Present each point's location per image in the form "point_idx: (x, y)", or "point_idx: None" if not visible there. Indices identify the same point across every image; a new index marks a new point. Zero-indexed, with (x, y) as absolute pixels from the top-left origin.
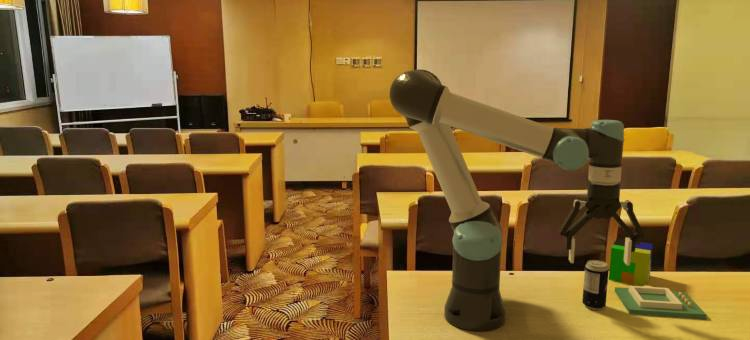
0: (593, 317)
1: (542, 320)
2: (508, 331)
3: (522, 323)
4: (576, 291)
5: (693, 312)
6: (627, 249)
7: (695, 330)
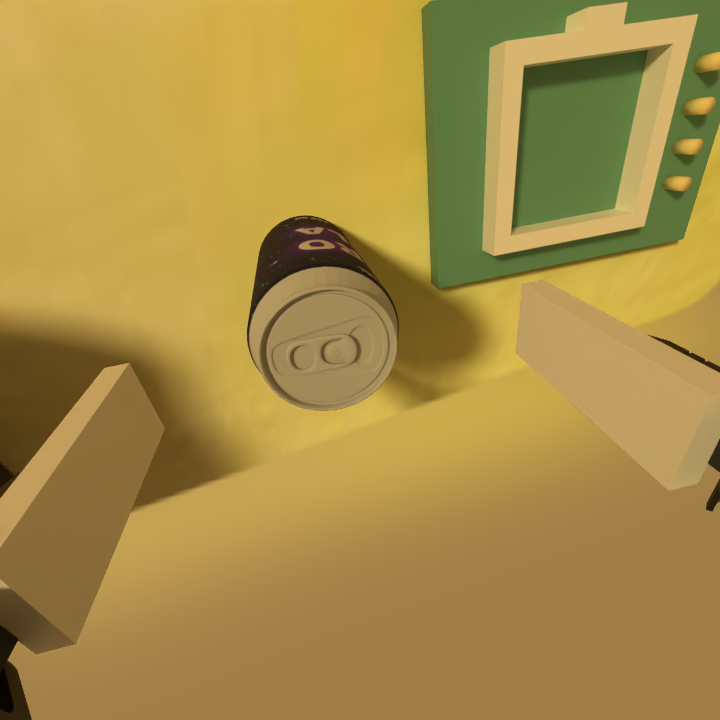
0: None
1: None
2: None
3: None
4: (215, 84)
5: (650, 235)
6: (595, 412)
7: None
